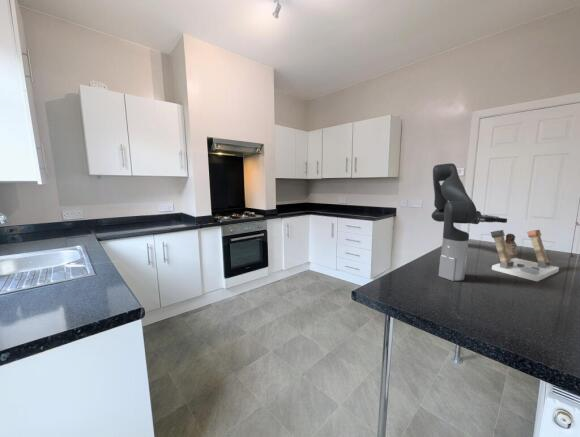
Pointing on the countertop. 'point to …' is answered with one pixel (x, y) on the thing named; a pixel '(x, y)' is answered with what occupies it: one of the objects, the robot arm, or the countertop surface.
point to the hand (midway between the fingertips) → (506, 220)
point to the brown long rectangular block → (538, 246)
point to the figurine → (511, 244)
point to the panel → (526, 275)
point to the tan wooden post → (501, 246)
